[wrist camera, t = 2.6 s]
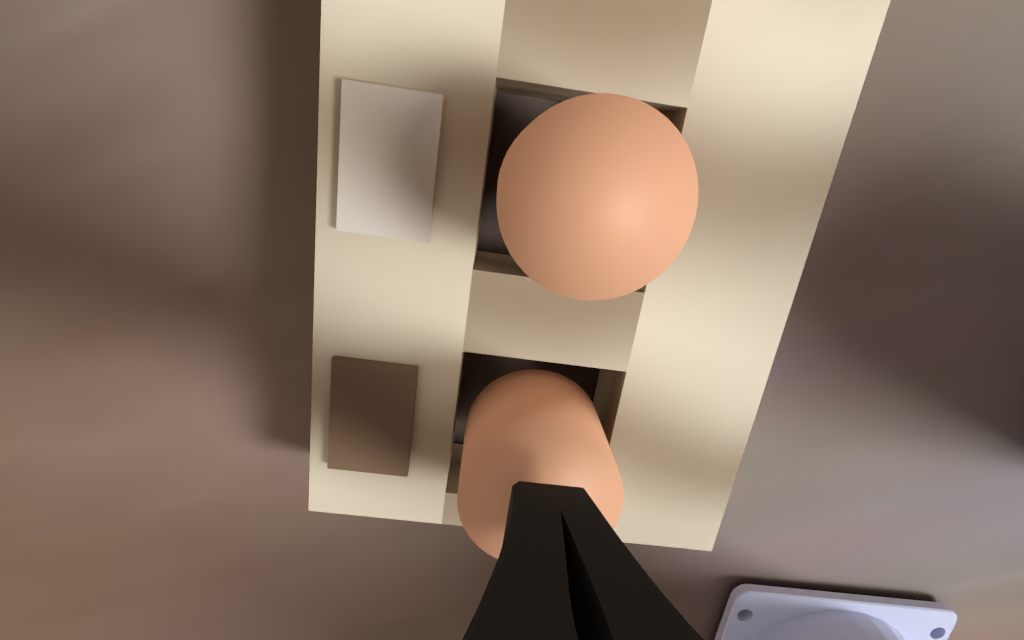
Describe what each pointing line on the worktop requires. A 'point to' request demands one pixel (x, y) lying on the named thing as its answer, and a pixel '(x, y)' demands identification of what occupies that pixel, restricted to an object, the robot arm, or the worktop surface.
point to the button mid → (597, 196)
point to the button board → (514, 295)
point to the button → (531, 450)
